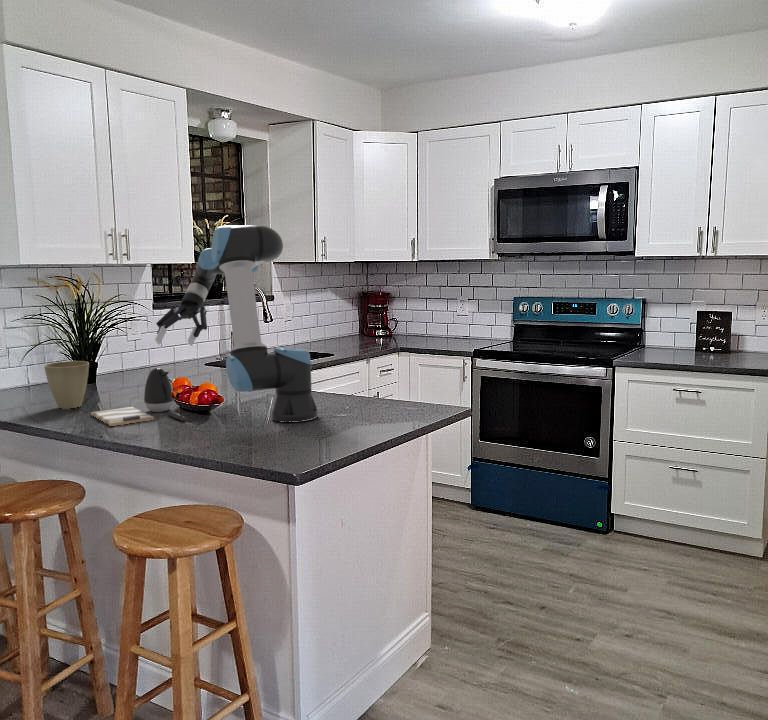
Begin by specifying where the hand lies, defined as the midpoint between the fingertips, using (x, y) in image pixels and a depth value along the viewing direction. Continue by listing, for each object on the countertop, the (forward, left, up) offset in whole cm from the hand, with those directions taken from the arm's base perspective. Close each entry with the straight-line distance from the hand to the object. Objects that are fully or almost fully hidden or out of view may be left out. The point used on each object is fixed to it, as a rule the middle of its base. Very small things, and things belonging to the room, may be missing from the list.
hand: (173, 342), depth 266 cm
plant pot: (+21, +32, -23) cm, 45 cm away
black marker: (-23, +9, -23) cm, 33 cm away
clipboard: (-10, +23, -23) cm, 33 cm away
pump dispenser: (-7, +9, -23) cm, 25 cm away
